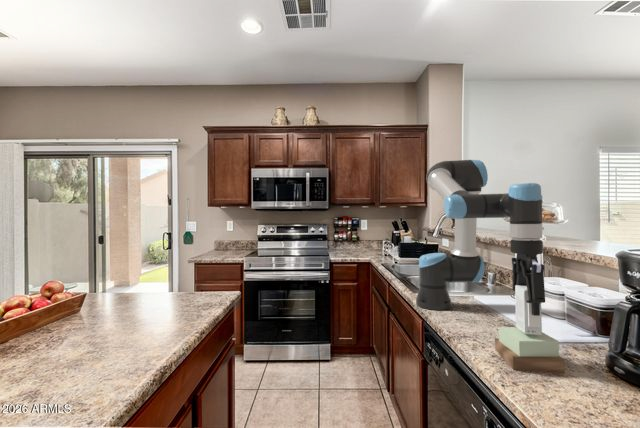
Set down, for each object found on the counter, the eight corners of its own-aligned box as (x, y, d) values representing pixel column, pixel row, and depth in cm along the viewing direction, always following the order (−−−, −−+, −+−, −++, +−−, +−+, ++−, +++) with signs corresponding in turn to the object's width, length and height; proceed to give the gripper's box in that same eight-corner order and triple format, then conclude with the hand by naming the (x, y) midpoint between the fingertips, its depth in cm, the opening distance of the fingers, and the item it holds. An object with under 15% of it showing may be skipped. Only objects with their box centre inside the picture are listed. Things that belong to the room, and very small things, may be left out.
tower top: (498, 340, 89) (498, 327, 89) (533, 340, 89) (533, 327, 89) (519, 356, 79) (519, 341, 79) (559, 356, 79) (558, 341, 79)
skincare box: (542, 335, 81) (541, 290, 81) (524, 334, 82) (523, 290, 82) (531, 327, 87) (530, 285, 87) (515, 326, 88) (514, 284, 88)
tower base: (495, 351, 91) (495, 338, 91) (539, 353, 89) (539, 340, 89) (513, 371, 79) (512, 356, 79) (564, 375, 77) (564, 359, 77)
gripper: (561, 242, 74) (563, 336, 74) (525, 236, 93) (527, 312, 93) (527, 242, 76) (529, 334, 76) (498, 236, 94) (500, 311, 94)
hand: (528, 322), depth 84 cm, fingers closed on skincare box, 6 cm apart
